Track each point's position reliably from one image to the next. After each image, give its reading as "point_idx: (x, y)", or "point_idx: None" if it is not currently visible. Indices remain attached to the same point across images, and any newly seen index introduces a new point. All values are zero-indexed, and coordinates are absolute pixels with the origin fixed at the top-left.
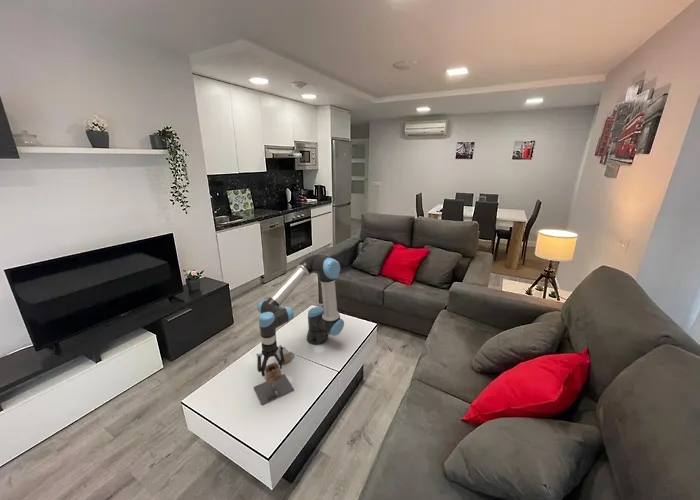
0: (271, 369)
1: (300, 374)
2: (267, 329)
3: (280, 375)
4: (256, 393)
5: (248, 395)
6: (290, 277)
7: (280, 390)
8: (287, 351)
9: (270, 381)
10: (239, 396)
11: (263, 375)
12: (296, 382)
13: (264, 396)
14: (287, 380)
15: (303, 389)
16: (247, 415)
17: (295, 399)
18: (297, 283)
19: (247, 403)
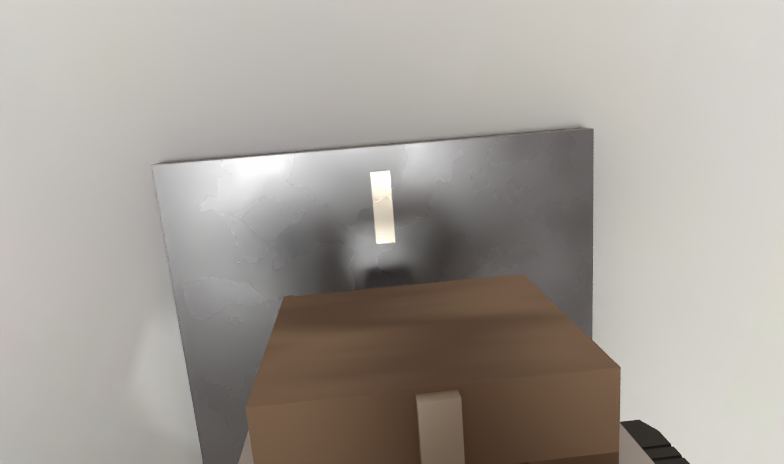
0: None
1: (10, 388)
2: None
3: (280, 324)
4: (588, 324)
5: (660, 345)
6: None
7: (326, 229)
8: None
9: (490, 288)
10: (740, 374)
11: (634, 433)
12: (95, 281)
13: (528, 230)
14: (196, 351)
15: (33, 119)
16: (757, 70)
17: (183, 5)
18: None
19: (704, 240)
